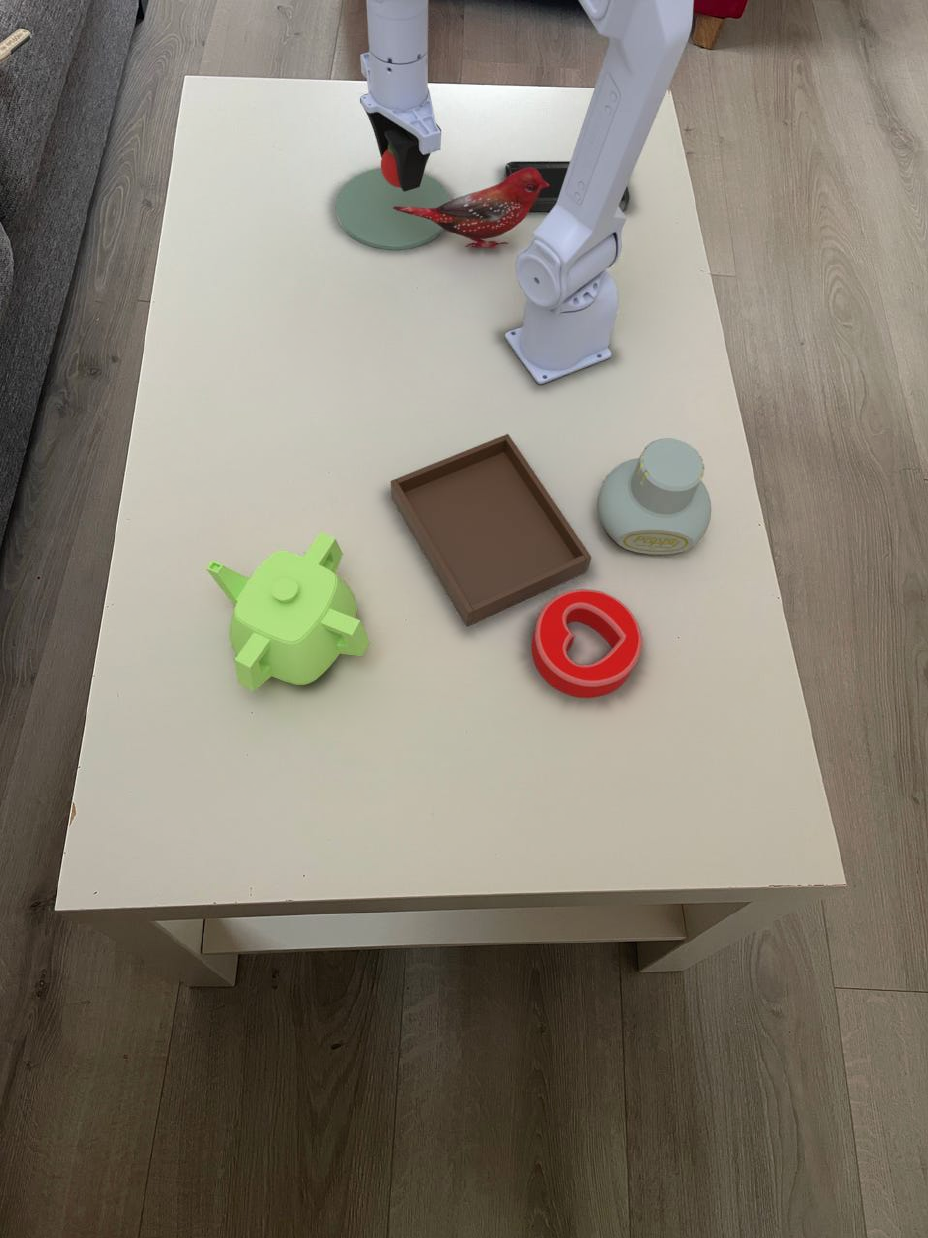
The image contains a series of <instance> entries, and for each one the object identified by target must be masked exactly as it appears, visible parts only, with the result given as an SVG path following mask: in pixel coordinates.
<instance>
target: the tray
mask: <svg viewBox="0 0 928 1238" xmlns="http://www.w3.org/2000/svg"><path fill="white" fill-rule="evenodd" d="M390 496H391V499H392V501H393V503H394V505H395V506H396V507H397V509H398V512H399V514H401V516H402V518H403V520H404V521H405V523H406V525H407V526H408V529H409V530H410V532H411V533H412V535H413V537H414V539H415V540H416V542H417V544H418V546H419V547H420V549H421V550H422V552H423V554H424V556H425V558H426V559H427V562H428V563H429V564H430V566H431V568H432V569H433V571H434V573H435V575H436V577H437V578H438V580H439V582H440V583H441V585H442V587H443V588H444V590H445V592H446V595H448V597H449V599H450V601H451V602H452V604H453V605H454V607H455V609H456V611H457V612H458V614H459V616H460V618H461V619H462V621H463V623H464V624H465V626H466V627H470V626H471V625H474V624H476V623H478V622H480V621H482V620H485V619H487V618H489V617H491V616H493V615H496V614H498V613H499V612H502V611H504V610H507V609H509V608H511V607H513V606H515V605H518V604H519V603H522V602H524V601H526V600H528V599H530V598H533V597H534V596H535V597H536V596H537V595H540V594H541V593H543V592H545V591H547V590H551V589H552V588H554V587H556V586H557V587H558V585H561V584H563V583H565V582H567V581H569V580H572V579H574V578H576V577H578V576H581V575H582V574H585V573H587V571H588V568H589V566H590V563H591V560H592V556H591V554H590V553H589V552H588V550H587V549H586V547H585V545H584V544H583V542H582V540H581V539H580V538H579V536H578V535H577V533H576V532H575V531H574V529H573V528H572V526H571V524H570V523H569V522H568V520H567V519H566V517H565V515H564V514H563V513H562V511H561V510H560V507H558V506H557V504H556V502H555V500H554V499H553V498H552V497H551V495H550V494H549V492H548V491H547V489H546V488H545V485H544V484H543V483H542V482H541V480H540V479H539V477H538V476H537V474H536V473H535V471H534V470H533V468H532V467H531V465H530V463H528V461H527V459H526V458H525V456H524V455H523V454H522V452H521V451H520V449H519V448H518V446H517V445H516V443H515V441H514V440H513V438H512V437H511V435H509V433H506V434H504V435H502V436H498V437H495V438H494V439H492V440H489V441H487V442H483V443H482V444H478V445H476V446H474V447H472V448H469V449H467V450H464V451H462V452H459V453H457V454H454V455H451V456H449V457H446V458H444V459H442V460H439V461H437V462H434V463H431V464H428V465H427V466H424V467H422V468H419V469H417V470H414V471H412V472H409V473H407V474H404V475H402V476H399V477H397V478H395V479H391V480H390Z"/></svg>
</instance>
